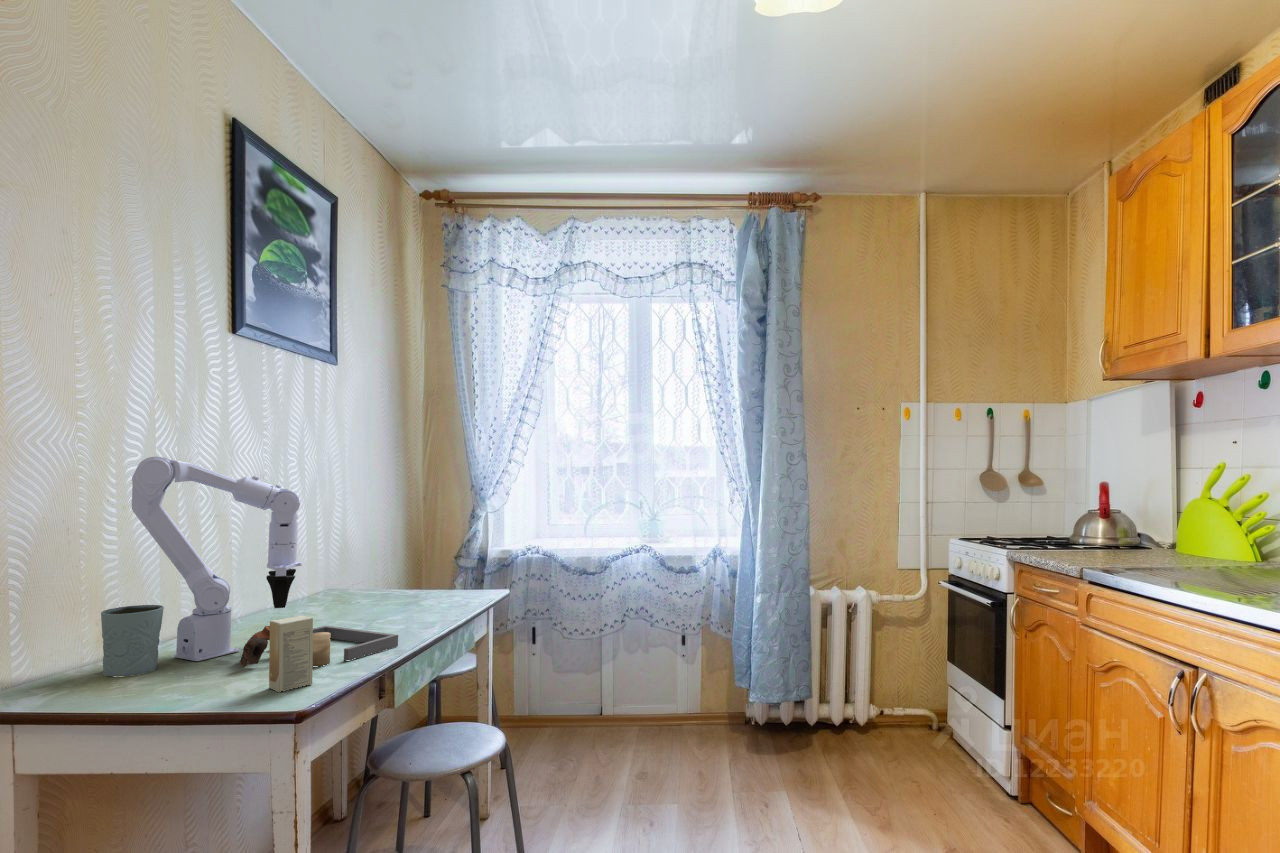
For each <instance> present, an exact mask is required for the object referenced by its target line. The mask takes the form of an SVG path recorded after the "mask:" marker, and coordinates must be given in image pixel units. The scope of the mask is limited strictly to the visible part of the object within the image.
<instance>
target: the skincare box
mask: <svg viewBox="0 0 1280 853" xmlns="http://www.w3.org/2000/svg"><path fill="white" fill-rule="evenodd" d="M269 626H270V640H269V649H268V650H269V664H268V666H269V667H268V670H269V671H268V672H269V673H268V688H269V689H270V688H271V689H270V690H272V689H273V691H274V690H275V691H274V692H278V693H282V692H281V691H283V692H287V691H290V690H289V689H291V690H294V689H293V688H295V689H297V688H298V687H299V688H302V686H303V687H306V685H307V686H310V685H313V668H314V667H313V628H314V618H313V617H310V616H307V615H296V616H290V617H286V618H280V619H275V620H269ZM299 688H298V689H299ZM286 690H287V691H286Z"/></svg>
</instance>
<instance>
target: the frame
mask: <svg viewBox="0 0 1280 853" xmlns="http://www.w3.org/2000/svg"><path fill="white" fill-rule="evenodd" d="M319 632H328V633H331V638H332V639H331V640H337V639H339V640H338V641H344V640H348V641H347V642H351V641H356V642H355V643H358V644H356V645H353V646H349V647H345V648H344V649H343V661H344V660H352V659H354V658H358V657H361V656H364V655H368V654H371V653H374V654H376V653H375V652H378V653H380V652H379V651H381V652H384V651H387V650H390V649H389V648H391V649H393V648H392V647H394V648H396V646H397V647H399V634H393V633H386V632H381V631H380V632H377V631H372V630H371V631H370V630H364V629H363V630H362V629H355V628H347V627H339V626H333V625H322V626H317V627H315V628H314V627H313V633H319ZM359 642H364V643H359ZM386 649H387V650H386ZM383 650H384V651H383ZM371 655H372V654H371ZM368 656H369V655H368ZM361 658H362V657H361ZM358 659H359V658H358ZM352 661H353V660H352Z"/></svg>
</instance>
